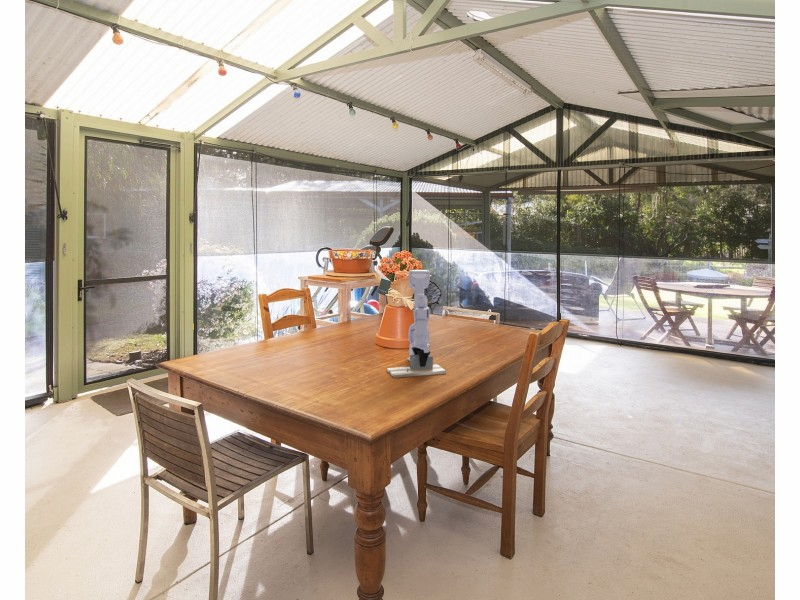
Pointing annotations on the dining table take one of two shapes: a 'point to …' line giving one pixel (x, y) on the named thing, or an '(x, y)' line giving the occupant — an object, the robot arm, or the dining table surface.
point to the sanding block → (416, 363)
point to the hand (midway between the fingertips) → (420, 364)
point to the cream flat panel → (409, 372)
